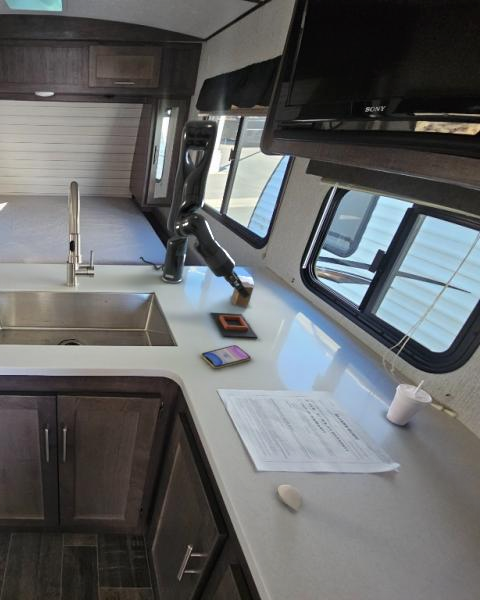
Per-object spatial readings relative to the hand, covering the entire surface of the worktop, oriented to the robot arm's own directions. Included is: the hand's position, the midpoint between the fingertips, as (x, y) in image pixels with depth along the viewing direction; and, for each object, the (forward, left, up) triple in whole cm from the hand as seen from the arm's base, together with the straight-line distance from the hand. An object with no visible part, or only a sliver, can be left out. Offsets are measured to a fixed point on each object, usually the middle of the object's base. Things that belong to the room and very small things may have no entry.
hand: (244, 293), depth 116 cm
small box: (-20, +9, -14) cm, 26 cm away
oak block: (0, -1, -4) cm, 4 cm away
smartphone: (+20, -10, -14) cm, 26 cm away
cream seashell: (+66, -12, -14) cm, 69 cm away
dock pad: (0, -1, -14) cm, 14 cm away
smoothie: (+42, +27, -14) cm, 52 cm away
